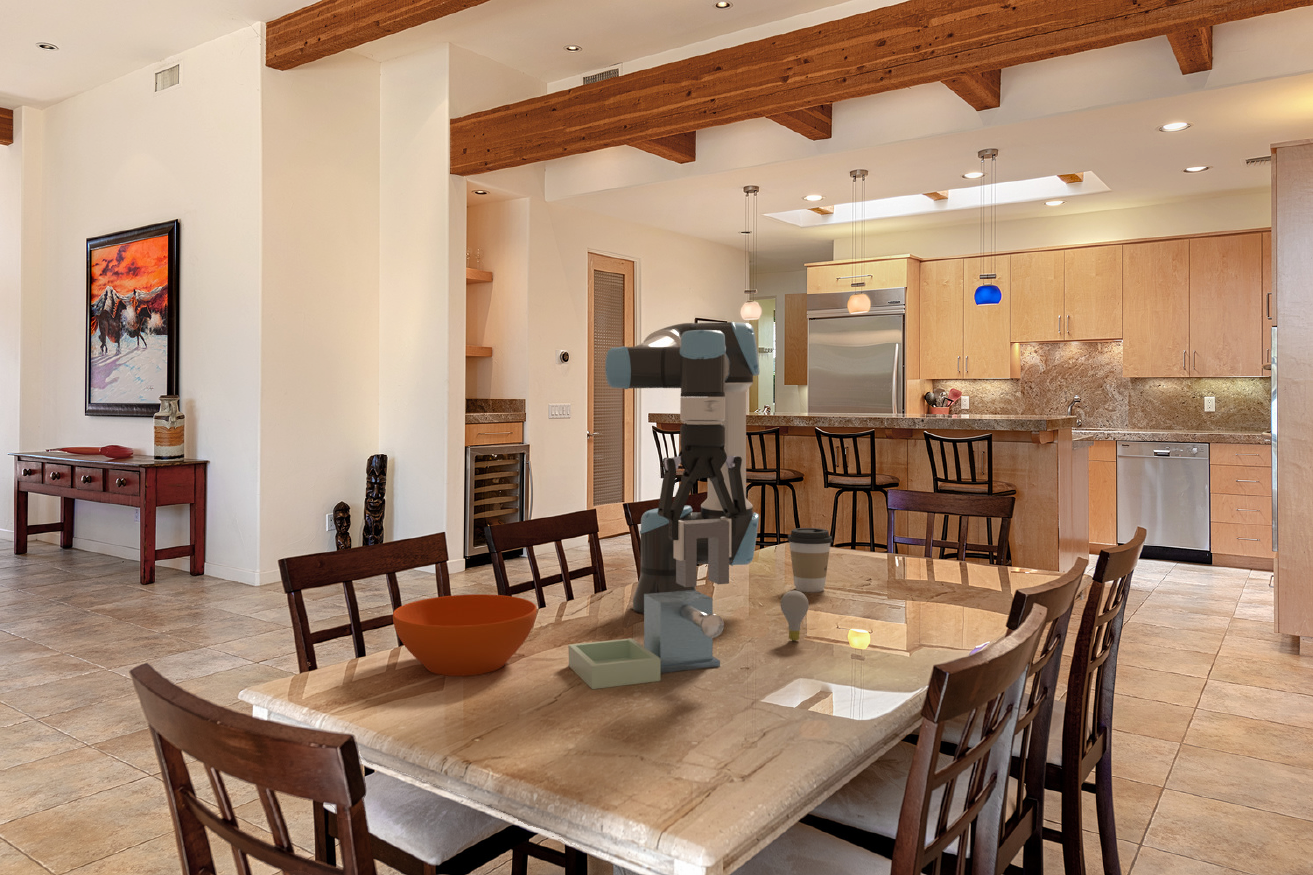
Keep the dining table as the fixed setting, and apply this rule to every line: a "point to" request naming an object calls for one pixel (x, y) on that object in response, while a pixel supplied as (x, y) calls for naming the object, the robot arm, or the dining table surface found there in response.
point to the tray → (614, 663)
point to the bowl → (464, 631)
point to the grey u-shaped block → (716, 551)
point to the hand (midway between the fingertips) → (702, 557)
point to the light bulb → (794, 611)
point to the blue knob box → (681, 629)
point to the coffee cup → (809, 558)
